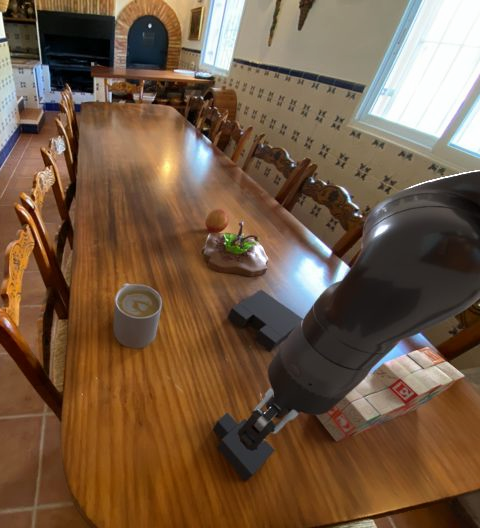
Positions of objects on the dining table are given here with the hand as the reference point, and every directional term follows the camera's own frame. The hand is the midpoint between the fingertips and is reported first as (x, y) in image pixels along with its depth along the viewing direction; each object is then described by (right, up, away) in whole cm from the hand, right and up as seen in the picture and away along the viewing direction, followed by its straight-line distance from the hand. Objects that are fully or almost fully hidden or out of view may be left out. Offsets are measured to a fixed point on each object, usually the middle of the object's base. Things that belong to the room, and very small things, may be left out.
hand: (264, 424), depth 43 cm
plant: (+13, +26, +51) cm, 58 cm away
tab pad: (-1, -8, +8) cm, 11 cm away
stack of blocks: (+26, -5, +14) cm, 30 cm away
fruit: (+10, +35, +61) cm, 71 cm away
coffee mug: (-19, +9, +27) cm, 34 cm away
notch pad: (+13, +9, +29) cm, 33 cm away
